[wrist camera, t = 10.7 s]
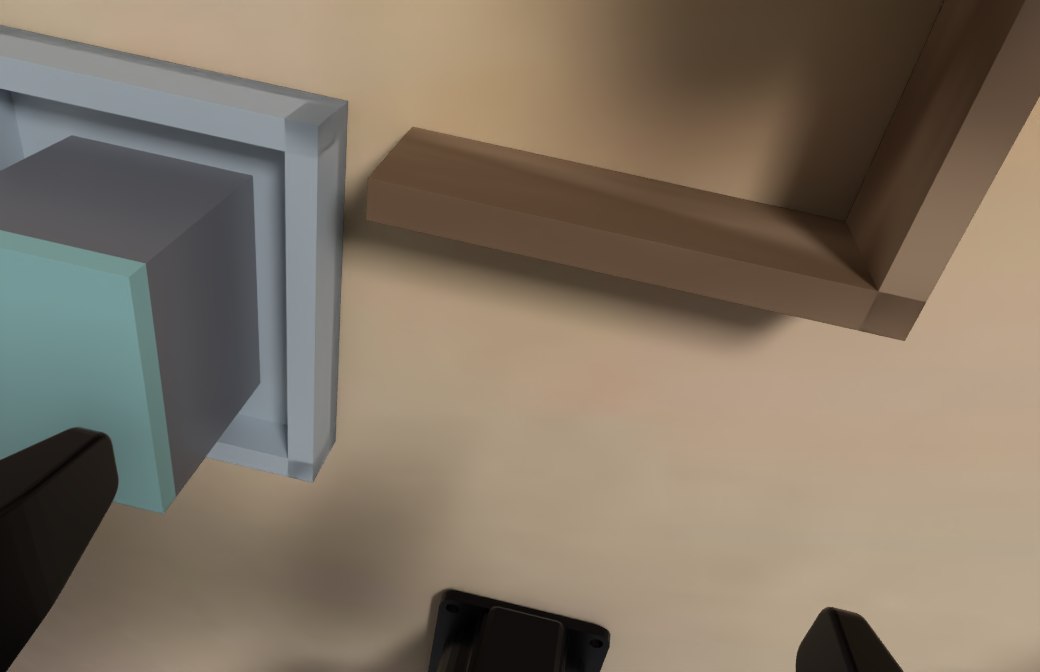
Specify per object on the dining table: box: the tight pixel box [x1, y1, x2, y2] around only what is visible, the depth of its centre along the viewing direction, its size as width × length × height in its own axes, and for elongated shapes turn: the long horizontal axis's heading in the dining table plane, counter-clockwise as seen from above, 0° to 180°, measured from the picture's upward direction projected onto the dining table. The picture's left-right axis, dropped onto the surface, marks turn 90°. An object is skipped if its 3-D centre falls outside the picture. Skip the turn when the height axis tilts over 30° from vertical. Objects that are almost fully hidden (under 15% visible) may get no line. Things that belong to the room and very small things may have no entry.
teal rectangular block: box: [0, 135, 260, 514], centre depth 20 cm, size 7×5×6 cm
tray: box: [0, 25, 348, 483], centre depth 22 cm, size 12×10×2 cm
